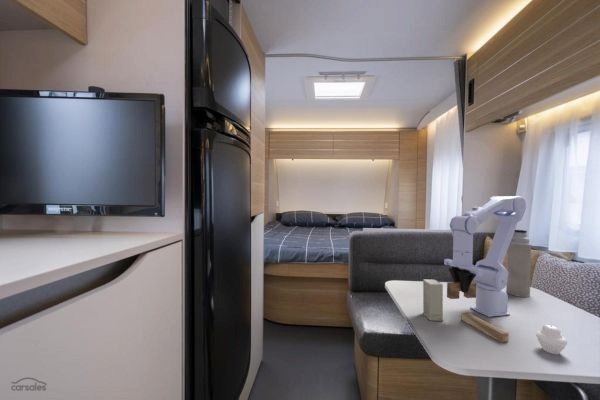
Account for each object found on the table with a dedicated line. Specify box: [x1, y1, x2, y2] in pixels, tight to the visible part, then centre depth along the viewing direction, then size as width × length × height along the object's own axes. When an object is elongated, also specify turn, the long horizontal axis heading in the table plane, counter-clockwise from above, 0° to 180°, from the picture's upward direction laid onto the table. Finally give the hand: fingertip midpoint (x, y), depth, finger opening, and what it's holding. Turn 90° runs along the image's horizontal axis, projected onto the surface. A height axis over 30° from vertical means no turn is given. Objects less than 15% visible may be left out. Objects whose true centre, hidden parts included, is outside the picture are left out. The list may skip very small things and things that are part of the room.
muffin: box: [535, 324, 568, 355], centre depth 71 cm, size 6×6×7 cm
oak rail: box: [461, 311, 510, 343], centre depth 82 cm, size 2×14×2 cm, turn 13°
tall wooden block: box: [446, 281, 476, 300], centre depth 90 cm, size 10×2×5 cm, turn 102°
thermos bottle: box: [505, 229, 532, 298], centre depth 116 cm, size 8×8×28 cm
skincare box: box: [422, 278, 444, 322], centre depth 91 cm, size 6×4×12 cm
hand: (461, 290), depth 90 cm, fingers closed on tall wooden block, 2 cm apart
